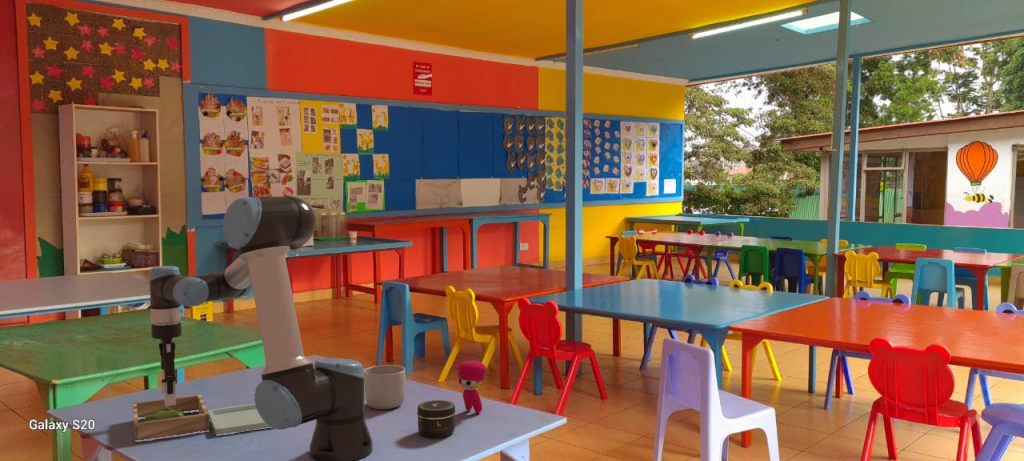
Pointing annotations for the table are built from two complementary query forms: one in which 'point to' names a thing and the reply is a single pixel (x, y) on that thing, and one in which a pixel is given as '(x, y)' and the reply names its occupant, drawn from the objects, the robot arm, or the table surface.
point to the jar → (436, 418)
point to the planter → (384, 386)
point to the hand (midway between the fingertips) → (168, 398)
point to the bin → (172, 424)
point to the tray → (236, 419)
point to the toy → (471, 383)
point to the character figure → (165, 414)
